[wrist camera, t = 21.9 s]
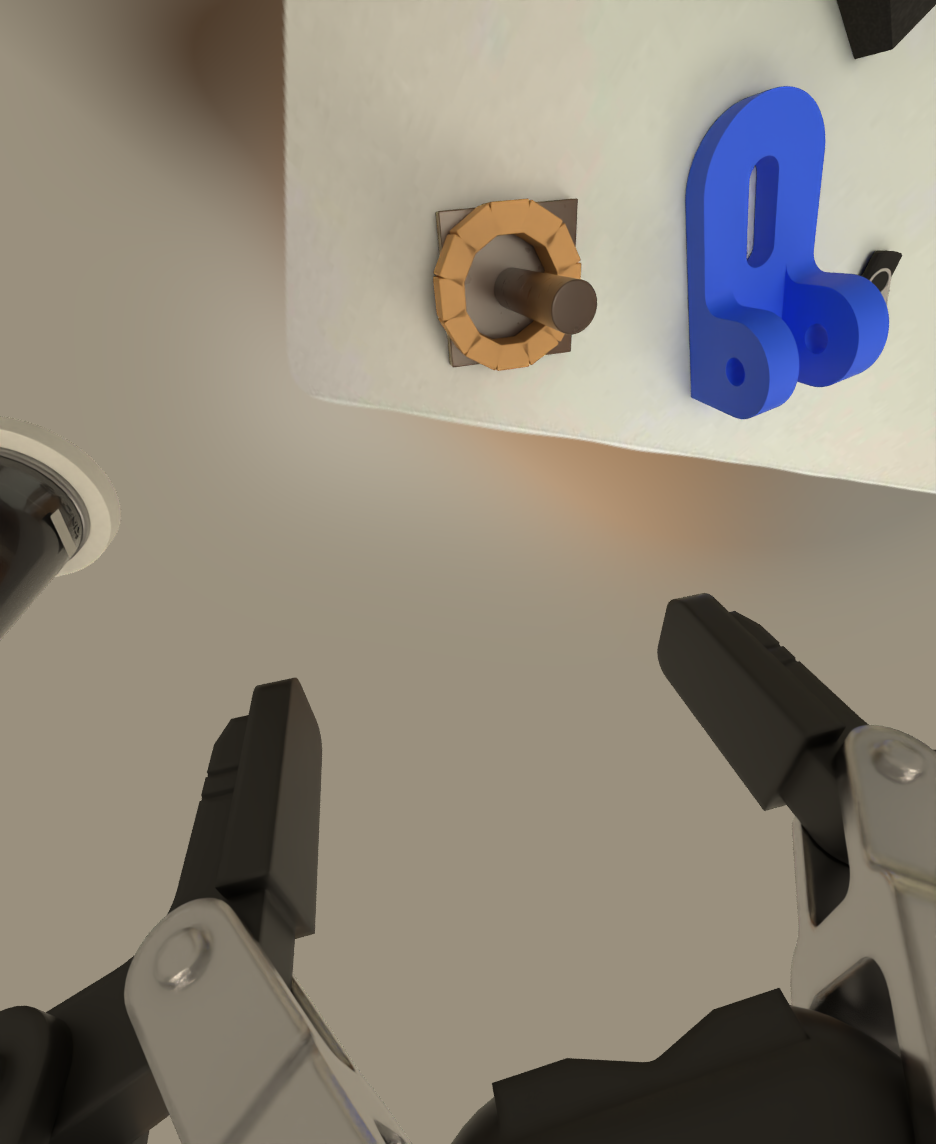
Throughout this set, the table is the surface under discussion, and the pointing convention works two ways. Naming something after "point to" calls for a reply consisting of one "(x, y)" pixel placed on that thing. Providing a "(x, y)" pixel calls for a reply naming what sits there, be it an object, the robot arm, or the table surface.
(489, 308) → the brown peg stand
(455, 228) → the orange segmented ring
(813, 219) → the bracket
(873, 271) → the usb flash drive
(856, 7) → the camera
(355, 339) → the table surface
